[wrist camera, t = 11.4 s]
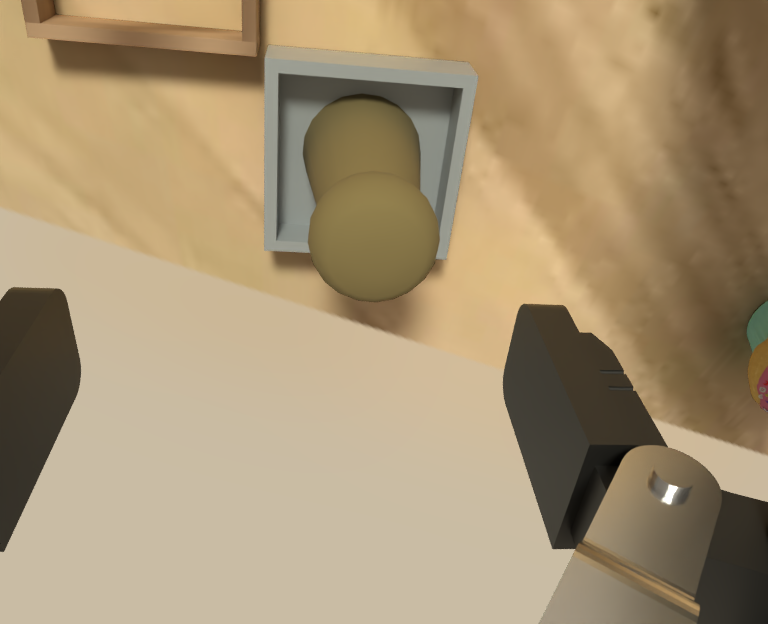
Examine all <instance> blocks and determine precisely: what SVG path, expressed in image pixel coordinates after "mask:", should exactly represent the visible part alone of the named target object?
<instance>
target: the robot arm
mask: <svg viewBox="0 0 768 624" xmlns="http://www.w3.org/2000/svg"><path fill="white" fill-rule="evenodd" d="M80 377H81V364H80V358H79V353H78V349H77V344H76V340H75V335H74V331H73V326H72V321H71V317H70V312H69V308H68V303H67V300H66V296H65V294H64V292H63V291H62V290H60V289H52V288H19V287H13V288H11V289H9V290H8V291H7V292H6V294H5V295H4V296H3V298H2V299H1V301H0V552H4V550H5V548H6V546H7V544H8V542H9V540H10V538H11V536H12V533H13V531H14V529H15V527H16V525H17V523H18V520H19V518H20V516H21V514H22V512H23V510H24V508H25V505H26V503H27V501H28V499H29V497H30V495H31V493H32V490H33V488H34V486H35V484H36V482H37V479H38V477H39V475H40V473H41V471H42V469H43V467H44V465H45V462H46V460H47V458H48V456H49V454H50V452H51V450H52V447H53V445H54V443H55V441H56V439H57V437H58V434H59V432H60V430H61V428H62V426H63V424H64V421H65V419H66V417H67V415H68V413H69V411H70V409H71V406H72V404H73V402H74V400H75V398H76V396H77V393H78V389H79V385H80ZM503 393H504V400H505V404H506V407H507V410H508V413H509V416H510V419H511V423H512V426H513V428H514V431H515V435H516V438H517V441H518V444H519V447H520V450H521V453H522V456H523V459H524V462H525V466H526V469H527V472H528V475H529V478H530V481H531V484H532V487H533V490H534V493H535V496H536V499H537V503H538V506H539V509H540V512H541V515H542V518H543V521H544V524H545V527H546V530H547V533H548V536H549V540H550V542H551V545H552V549H575V551H574V553H573V556H572V557H571V559H570V561H569V563H568V565H567V567H566V569H565V571H564V574H563V576H562V578H561V580H560V582H559V584H558V586H557V588H556V590H555V592H554V594H553V596H552V598H551V600H550V602H549V604H548V606H547V608H546V610H545V612H544V614H543V616H542V618H541V620H540V622H539V624H768V502H765V501H761V500H757V499H753V498H749V497H745V496H741V495H738V494H734V493H730V492H727V491H724V490H721V489H720V486H719V484H718V483H717V481H716V479H715V478H714V476H712V474H711V473H710V472H709V471H708V470H707V469H706V468H705V467H704V466H703V465H702V464H701V463H699V462H698V461H696V460H695V459H693V458H692V457H690V456H688V455H686V454H684V453H682V452H680V451H677V450H675V449H672V448H668V446H667V445H666V443H665V441H664V439H663V438H662V436H661V434H660V432H659V431H658V429H657V427H656V426H655V424H654V422H653V420H652V418H651V417H650V415H649V413H648V412H647V410H646V408H645V406H644V405H643V403H642V401H641V399H640V398H639V396H638V394H637V392H636V391H633V386H632V384H631V382H630V380H629V379H628V377H627V375H626V374H624V370H623V368H622V366H621V365H620V363H619V361H618V359H617V358H616V356H615V354H614V353H613V351H612V350H611V349H610V348H609V347H608V346H606V345H605V344H604V343H603V342H602V341H600V340H599V339H598V338H597V337H596V336H595V335H593V334H592V333H579V331H578V329H577V327H576V325H575V323H574V321H573V319H572V317H571V316H570V314H569V312H568V310H567V308H566V307H565V306H563V305H541V304H523V305H522V306H521V307H520V309H519V311H518V314H517V318H516V322H515V326H514V330H513V335H512V339H511V343H510V347H509V352H508V356H507V360H506V365H505V369H504V375H503Z"/></svg>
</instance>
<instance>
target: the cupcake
mask: <svg viewBox="0 0 768 624" xmlns="http://www.w3.org/2000/svg"><path fill="white" fill-rule="evenodd" d="M747 338H748V341H749V343H750V346H751V349H752V352H753V353H752V355H751V358H750V360H749V365H748V379H749V386H750V391H751V395H752V397H753V399H754V400H755V401H756V402H757V403H758V404H759V405H760V407H761V408H762V409H763V410H764V411H765V412H768V301H766V302H765V303H764V304H762V305H761V306H760V307H759V308H758V309H757V310H756V311H755V313H754V314H753V315H752V317H751V319H750V321H749V323H748V326H747Z"/></svg>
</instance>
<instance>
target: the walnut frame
mask: <svg viewBox="0 0 768 624" xmlns="http://www.w3.org/2000/svg"><path fill="white" fill-rule="evenodd" d="M21 3H22V8H23V14H24V19H25V25H26V30H27V36H28V37H31V38H42V39H54V40H66V41H78V42H89V43H101V44H113V45H125V46H136V47H148V48H160V49H172V50H184V51H195V52H207V53H219V54H231V55H242V56H254V57H256V56H257V53H258V50H259V47H260V0H242V31H235V30H224V29H213V28H201V27H190V26H179V25H168V24H157V23H145V22H134V21H123V20H112V19H101V18H89V17H78V16H67V15H56V14H55V8H54V1H53V0H21Z"/></svg>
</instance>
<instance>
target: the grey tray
mask: <svg viewBox="0 0 768 624" xmlns="http://www.w3.org/2000/svg"><path fill="white" fill-rule="evenodd" d="M477 81H478V75H477V73H476V72H475V71H474V69H473V68H472V67H471V65H470V64H469V62H460V61H449V60H437V59H426V58H414V57H403V56H391V55H380V54H368V53H357V52H345V51H334V50H322V49H311V48H300V47H288V46H277V45H268V48H267V51H266V55H265V155H264V251H284V252H304V253H310V250H309V246H308V234H309V226H310V218H311V216H312V214H313V212H314V210H315V208H316V202H315V199H314V196H313V192H312V189H311V186H310V182H309V179H308V176H307V172H306V168H305V163H304V159H303V144H304V136H305V134H306V132H307V130H308V127H309V125H310V123H311V121H312V119H313V118H314V117H315V116H316V115H317V114H318V113H319V112H320V111H321V110H322V109H323V108H324V107H325V106H326V105H328V104H329V103H331V102H333V101H335V100H337V99H339V98H341V97H343V96H349V95H355V94H361V93H362V94H369V95H376V96H381V97H383V98H385V99H387V100H389V101H391V102H393V103H395V104H397V105H398V106H399V107H400V108H401V109H402V110H403V111H404V112H405V113H406V114H407V115H408V116H409V117H410V118H411V120H412V122H413V124H414V126H415V128H416V130H417V132H418V134H419V142H420V151H421V170H420V192H421V193H422V194H423V195H425V196H426V197H427V199H428V201H429V203H430V205H431V207H432V209H433V211H434V213H435V215H436V217H437V220H438V226H439V235H440V242H439V247H438V251H437V255H436V259H443V260H446V258H447V253H448V247H449V241H450V236H451V230H452V224H453V218H454V213H455V207H456V201H457V196H458V190H459V184H460V178H461V173H462V167H463V161H464V156H465V150H466V144H467V138H468V133H469V127H470V121H471V116H472V110H473V104H474V98H475V93H476V87H477Z"/></svg>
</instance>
